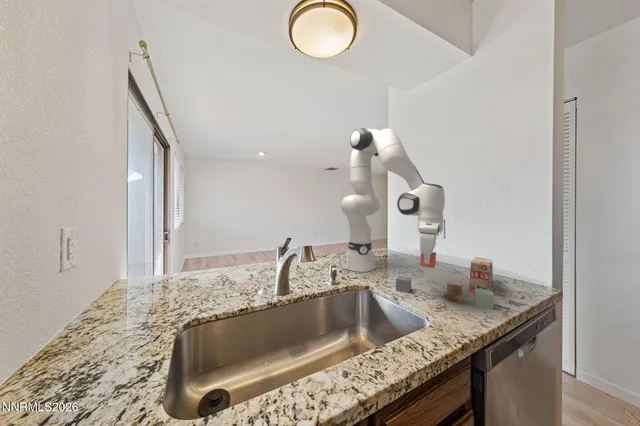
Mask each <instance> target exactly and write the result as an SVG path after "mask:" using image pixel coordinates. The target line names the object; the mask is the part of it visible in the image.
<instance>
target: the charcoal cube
mask: <svg viewBox="0 0 640 426" xmlns="http://www.w3.org/2000/svg"><path fill="white" fill-rule="evenodd" d="M411 290H412V277H409V276H405V275H398V276H397V277H396V278H395V292H399V291H400V292H399V293H404V292H405V294H409V293H411Z"/></svg>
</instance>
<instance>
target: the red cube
mask: <svg viewBox="0 0 640 426" xmlns="http://www.w3.org/2000/svg"><path fill="white" fill-rule="evenodd" d="M419 258H420V259H419V266H420V267H422V268H424V267H425V268H430V269H431V268H432V269H435V268H436V263H437V252H435V251H433V252H432V254H431V255H430V263H429V264H426V263H424V254H422V253H421V252H420V257H419Z"/></svg>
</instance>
